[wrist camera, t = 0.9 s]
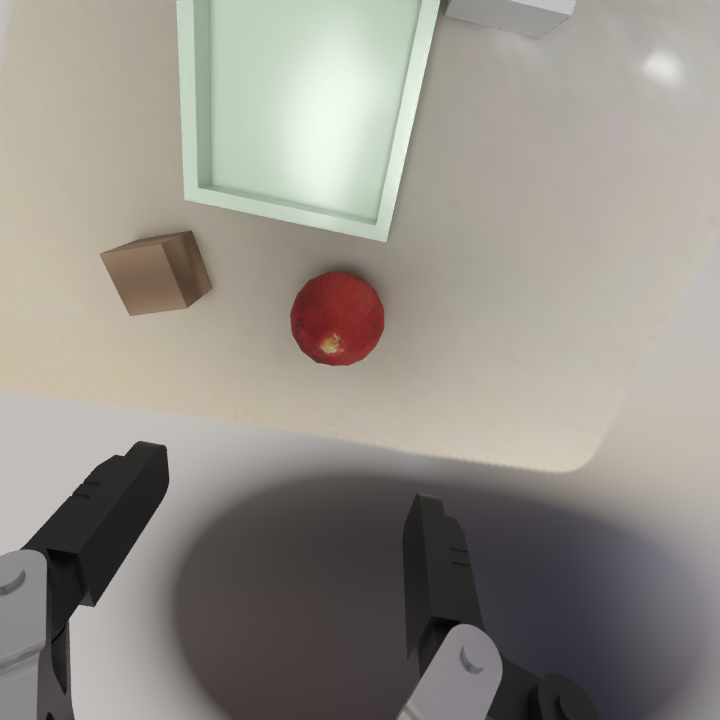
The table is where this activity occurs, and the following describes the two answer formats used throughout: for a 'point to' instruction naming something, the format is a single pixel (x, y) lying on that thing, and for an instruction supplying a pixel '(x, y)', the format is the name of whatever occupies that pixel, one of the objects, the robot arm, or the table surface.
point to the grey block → (513, 14)
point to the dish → (301, 106)
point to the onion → (337, 319)
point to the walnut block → (158, 273)
